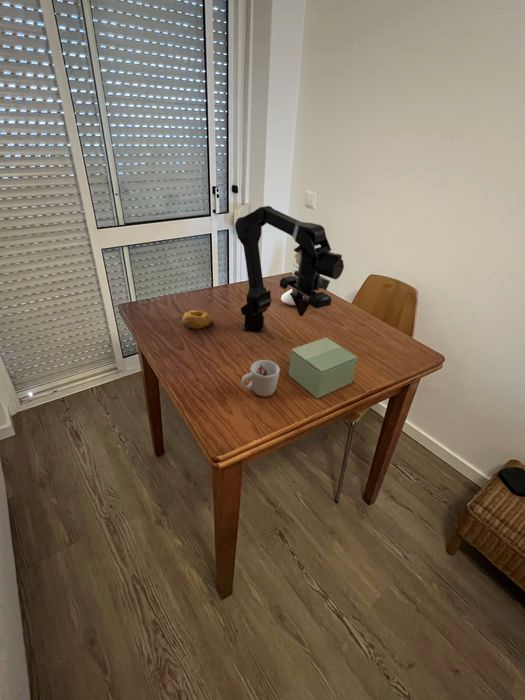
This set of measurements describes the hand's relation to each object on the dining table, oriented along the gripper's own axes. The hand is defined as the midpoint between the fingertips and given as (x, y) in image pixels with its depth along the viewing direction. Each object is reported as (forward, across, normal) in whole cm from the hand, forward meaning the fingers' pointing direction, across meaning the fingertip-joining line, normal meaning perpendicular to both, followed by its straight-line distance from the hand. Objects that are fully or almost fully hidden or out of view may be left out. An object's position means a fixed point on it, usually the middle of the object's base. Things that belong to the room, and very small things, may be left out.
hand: (301, 315), depth 113 cm
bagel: (+14, +32, +22) cm, 41 cm away
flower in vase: (+13, +29, -23) cm, 40 cm away
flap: (+4, -14, +5) cm, 15 cm away
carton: (+12, -17, +5) cm, 22 cm away
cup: (+13, -13, +24) cm, 30 cm away
